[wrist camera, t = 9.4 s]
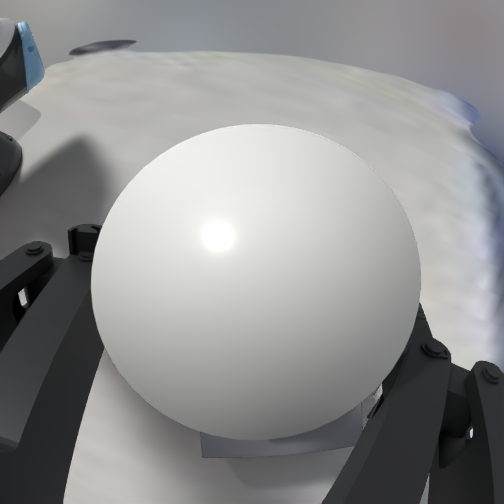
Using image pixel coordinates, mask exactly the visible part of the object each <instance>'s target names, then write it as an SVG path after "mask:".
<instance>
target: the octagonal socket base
mask: <svg viewBox="0 0 504 504" xmlns="http://www.w3.org/2000/svg"><path fill="white" fill-rule="evenodd" d="M362 432H363V426H362V407H361V403H360V404H359V405H357V406H356V407H354V408H353V409H351V410H350V411H348V412H347V413H345V414H344V415H342V416H341V417H339V418H337V419H336V420H333V421H331V422H329V423H327V424H325V425H323V426H320V427H318V428H316V429H314V430H311V431H307V432H304V433H300V434H297V435H293V436H290V437H283V438H276V439H268V440H237V439H230V438H224V437H219V436H213V435H210V434H207V433H204V432H200V435H201V447H202V457H204V458H242V457H265V456H280V455H292V454H301V453H310V452H318V451H325V450H332V449H339V448H345V447H350V446H355V445H356V444H357V442H358V440H359V438H360V436H361V434H362Z"/></svg>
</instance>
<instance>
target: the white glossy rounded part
mask: <svg viewBox="0 0 504 504" xmlns="http://www.w3.org/2000/svg"><path fill="white" fill-rule="evenodd" d="M420 290H421V270H420V259H419V253H418V248H417V243H416V239H415V236H414V233H413V230H412V227H411V224H410V222H409V220H408V217H407V215H406V213H405V211H404V209H403V207H402V205H401V204H400V202H399V200H398V199H397V197H396V196H395V194H394V193H393V191H392V190H391V188H390V187H389V186H388V185H387V184H386V182H385V181H384V180H383V179H382V178H381V176H380V175H379V174H378V173H377V172H376V171H375V170H374V169H372V168H371V167H370V166H369V165H368V164H367V163H366V162H365V161H364V160H362V159H361V158H359V157H358V156H357V155H355V154H354V153H353V152H351V151H350V150H348V149H346V148H345V147H343V146H341V145H339V144H337V143H336V142H334V141H332V140H329V139H327V138H325V137H322V136H320V135H318V134H315V133H312V132H308V131H305V130H301V129H298V128H292V127H287V126H281V125H269V124H247V125H237V126H230V127H224V128H220V129H216V130H212V131H208V132H205V133H203V134H200V135H197V136H194V137H192V138H189V139H187V140H185V141H183V142H181V143H179V144H177V145H175V146H173V147H172V148H170V149H169V150H167V151H165V152H164V153H162V154H161V155H159V156H158V157H156V158H155V159H154V160H153V161H152V162H150V163H149V164H148V165H147V166H145V167H144V168H143V169H142V170H141V171H140V172H139V173H138V174H137V175H136V176H135V177H134V178H133V179H132V180H131V181H130V182H129V184H128V185H127V186H126V188H125V189H124V190H123V191H122V193H121V194H120V195H119V197H118V198H117V200H116V201H115V203H114V205H113V206H112V208H111V210H110V212H109V213H108V215H107V218H106V220H105V222H104V224H103V227H102V229H101V231H100V235H99V238H98V241H97V244H96V248H95V252H94V258H93V264H92V275H91V294H92V305H93V311H94V316H95V320H96V324H97V328H98V331H99V334H100V336H101V339H102V342H103V344H104V347H105V349H106V351H107V353H108V355H109V356H110V358H111V360H112V362H113V363H114V365H115V367H116V369H117V370H118V371H119V373H120V374H121V375H122V376H123V378H124V379H125V380H126V382H127V383H128V384H129V385H130V387H131V388H132V389H133V390H135V391H136V392H137V393H138V394H139V395H140V396H141V397H142V398H143V399H144V400H145V401H146V402H147V403H148V404H150V405H151V406H153V407H154V408H155V409H157V410H158V411H160V412H161V413H163V414H164V415H165V416H167V417H169V418H171V419H173V420H175V421H177V422H179V423H181V424H183V425H185V426H187V427H189V428H192V429H194V430H197V431H200V432H204V433H207V434H210V435H213V436H219V437H224V438H230V439H237V440H268V439H276V438H283V437H290V436H293V435H297V434H300V433H304V432H307V431H311V430H314V429H316V428H318V427H320V426H323V425H325V424H327V423H329V422H331V421H333V420H336V419H337V418H339V417H341V416H342V415H344V414H345V413H347V412H348V411H350V410H351V409H353V408H354V407H356V406H357V405H359V404H360V403H361V402H362V401H363V400H364V399H365V398H367V397H368V396H369V395H370V394H371V393H372V392H373V391H374V390H375V389H376V388H377V387H378V386H379V385H380V384H381V383H382V381H383V380H384V379H385V378H386V376H387V375H388V374H389V373H390V372H391V370H392V369H393V367H394V366H395V364H396V362H397V361H398V359H399V357H400V356H401V354H402V352H403V351H404V349H405V347H406V344H407V342H408V339H409V337H410V335H411V332H412V330H413V327H414V323H415V319H416V315H417V311H418V307H419V299H420Z"/></svg>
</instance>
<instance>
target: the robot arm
mask: <svg viewBox="0 0 504 504" xmlns="http://www.w3.org/2000/svg"><path fill="white" fill-rule="evenodd" d="M44 73H45V70H44V66H43V63H42V61H41V58H40V55H39V52H38V49H37V46H36V44H35V41H34V38H33V36H32V33H31V30H30V28H29V25H28V24H27V22H26V21H23V22H21V23H18V24H17V25H16V26H15V24H14V23H13V21H11V19H8V18H1V19H0V113H1V112H2V111H4V110H5V109H6V108H8V107H9V106H10V105H11V104H13V103H14V102H15V101H17V100H18V99H19V98H21V97H22V96H23V95H25V94H27V93H28V92H29V90H31V89H32V88H33V87H34V86H36V85H37V84H38V83H39V82H40V81H41V80H42V79H43V77H44ZM20 159H21V146H20V145H19V143H18V142H17V141H16V140H15V139H14V138H13V137H11V136H9V135H7V134H5V133H3V132H1V131H0V195H1V194H2V193H3V192H4V190H5V189H6V188H7V186H8V185H9V183H10V182H11V180H12V178H13V177H14V175H15V173H16V171H17V168H18V166H19V163H20ZM101 229H102V226H100V225H95V224H83V225H78V226H75V227H72V228H71V229H69V230H68V240H69V251H70V255H69V256H68V257H67V258H66V259H63V258H56V257H53V252H52V247H51V245H50V244H48V243H45V242H41V241H37V242H36V241H35V242H32V243H29V244H26V245H24V246H22V247H20V248H19V249H17V250H16V251H14V252H13V253H11V254H10V255H8V256H7V257H5V258H4V259H2V260H1V261H0V504H63V499H64V493H65V488H66V483H67V478H68V473H69V469H70V464H71V460H72V456H73V452H74V448H75V444H76V440H77V436H78V432H79V428H80V424H81V421H82V417H83V414H84V410H85V407H86V403H87V400H88V396H89V393H90V390H91V387H92V383H93V380H94V377H95V374H96V371H97V368H98V365H99V362H100V359H101V356H102V353H103V350H104V344H103V342H102V339H101V336H100V334H99V331H98V328H97V324H96V320H95V316H94V311H93V305H92V294H91V275H92V264H93V258H94V252H95V248H96V244H97V241H98V238H99V235H100V231H101ZM23 288H24V292H25V296H26V300H27V303H26V304H25V305H23V306H22V305H21V303H20V299H19V295H18V293H19V292H20V291H21V290H22V289H23ZM423 313H424V311H423V309H422V306H421V304H420V303H419V307H418V311H417V315H416V319H415V323H414V327H413V330H412V332H411V335H410V337H409V339H408V342H407V344H406V347H405V349H404V351H403V352H402V354H401V356H400V357H399V359H398V361H397V362H396V364H395V366H394V367H393V369H392V370H391V372H390V373H389V374H388V375H387V376H386V378H385V379H384V380H383V381H382V390H383V393H382V395H381V396H380V398H379V400H378V401H377V403H376V404H375V406H374V407H373V409H372V410H371V412H370V413H369V415H368V416H367V418H369V420H368V422H367V424H366V426H365V428H364V430H363V432H362V434H361V436H360V438H359V440H358V442H357V444H356V445H355V447H354V449H353V451H352V453H351V455H350V457H349V458H348V460H347V462H346V464H345V466H344V467H343V469H342V471H341V472H340V474H339V476H338V478H337V479H336V481H335V483H334V484H333V486H332V488H331V489H330V491H329V492H328V494H327V496H326V497H325V499H324V500H323V502H322V503H321V504H419V503H420V500H421V497H422V494H423V491H424V488H425V485H426V482H427V478H428V475H429V494H428V504H504V374H503V372H502V371H501V370H500V369H499V367H497V366H495V364H493V363H490V362H487V361H478V362H476V363H475V365H474V366H473V368H472V369H471V371H469V370H466V369H464V368H462V367H459V366H457V365H455V364H453V363H451V353H450V352H449V350H448V349H447V347H446V346H445V345H443V344H442V343H441V342H439V341H438V340H436V339H434V338H433V337H432V334H431V331H430V328H429V325H428V322H427V321H426V317H425V314H423ZM380 385H381V384H380ZM380 385H379V386H380ZM379 386H378V387H377V388H376V389H375V390H374V391H373V392H372V393H371V394H372V395H375V393H376V391H377V390H378V388H379ZM472 428H473V436H472V438H471V437H470V430H471V429H472ZM429 472H430V473H429Z"/></svg>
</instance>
